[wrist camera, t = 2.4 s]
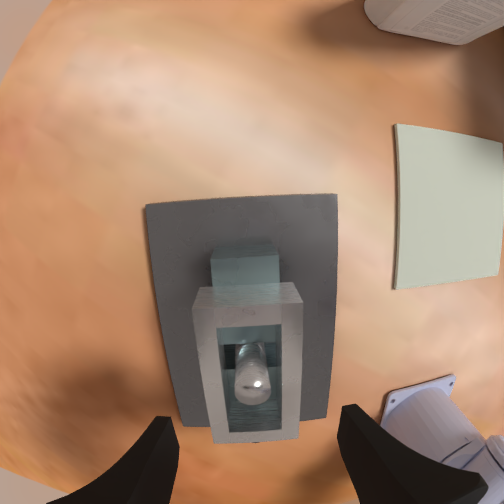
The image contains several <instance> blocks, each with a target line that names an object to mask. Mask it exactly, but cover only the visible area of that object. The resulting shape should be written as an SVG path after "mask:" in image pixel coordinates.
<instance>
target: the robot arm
mask: <svg viewBox="0 0 504 504" xmlns="http://www.w3.org/2000/svg"><path fill="white" fill-rule="evenodd" d="M455 380H456V376H455V375H454V374H452V375H449V376H446V377H443V378H439V379H436V380H433V381H429V382H426V383H422V384H419V385H415V386H411V387H407V388H403V389H399V390H395V391H392V392H390V393H389V394H388V397H387V401H386V405H385V409H384V412H383V416H382V420H381V423H380V425H379V424H377V423H376V422H375V421H374V420H373V419H372V418H371V417H370V416H369V415H368V414H366V413H365V412H364V411H363V410H362V409H361V408H360V407H359V406H358V405H357V404H351V405H346V406H342V411H341V417H340V423H339V428H338V434H337V439H338V444H339V448H340V452H341V455H342V458H343V461H344V463H345V466H346V468H347V471H348V473H349V475H350V478H351V480H352V483H353V485H354V488H355V490H356V493H357V495H358V498H359V502H360V504H504V437H503V436H502V435H495V436H494V435H491V436H490V437H489V438H488V439H487V440H486V439H484V437H483V436H482V435H481V434H480V433H479V431H478V430H477V429H476V428H475V427H474V426H473V424H472V423H471V422H470V421H469V420H468V418H467V417H466V416H465V415H464V414H463V413H462V411H461V410H460V409H459V408H458V407H457V406H456V404H455V403H454V402H453V401H452V400H451V399H450V398H449V397H450V394H451V391H452V389H453V386H454V383H455ZM391 400H392V401H391ZM179 448H180V447H179V443H178V440H177V437H176V434H175V430H174V427H173V423H172V420H171V417H165V416H156V417H155V418H154V420H153V421H152V422H151V424H150V425H149V426H148V428H147V429H146V430H145V431H144V433H143V434H142V435H141V436H140V438H139V439H138V440H137V441H136V442H135V444H134V445H133V446H132V447H131V448H130V449H129V450H128V451H127V452H126V453H125V454H124V455H123V456H122V457H121V458H120V459H119V460H118V461H117V462H116V463H115V464H114V465H113V466H112V467H111V468H110V469H108V470H107V471H106V472H105V473H103V474H102V475H101V476H99V477H98V478H97V479H95V480H94V481H92V482H91V483H89V484H88V485H86V486H84V487H82V488H81V489H79V490H77V491H75V492H73V493H71V494H69V495H67V496H64V497H62V498H59V499H57V500H54V501H51V502H48V503H46V504H169V503H170V498H171V494H172V490H173V485H174V481H175V477H176V472H177V468H178V460H179Z"/></svg>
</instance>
